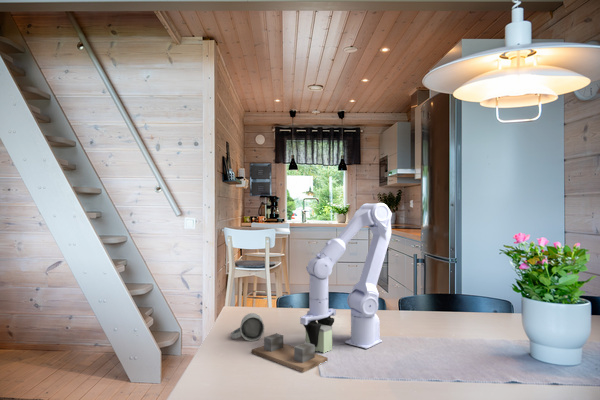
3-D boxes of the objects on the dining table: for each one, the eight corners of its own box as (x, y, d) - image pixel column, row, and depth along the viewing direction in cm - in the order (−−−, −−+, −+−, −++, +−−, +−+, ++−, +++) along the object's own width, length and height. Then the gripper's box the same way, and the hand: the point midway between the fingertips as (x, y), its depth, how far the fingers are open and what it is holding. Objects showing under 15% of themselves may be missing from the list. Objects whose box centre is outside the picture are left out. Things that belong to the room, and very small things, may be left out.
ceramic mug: (262, 332, 131) (262, 309, 131) (264, 340, 123) (264, 316, 123) (230, 334, 129) (230, 311, 129) (230, 343, 121) (230, 318, 121)
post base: (276, 344, 119) (276, 329, 119) (327, 361, 106) (327, 344, 106) (251, 353, 112) (251, 337, 112) (303, 372, 98) (303, 354, 99)
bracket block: (314, 344, 120) (314, 322, 120) (332, 349, 115) (332, 326, 115) (305, 347, 117) (305, 324, 117) (323, 353, 112) (323, 329, 112)
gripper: (323, 292, 124) (323, 335, 124) (292, 300, 114) (292, 346, 113) (341, 295, 120) (341, 340, 119) (311, 303, 109) (310, 352, 108)
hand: (318, 343), depth 116 cm, fingers closed on bracket block, 4 cm apart
